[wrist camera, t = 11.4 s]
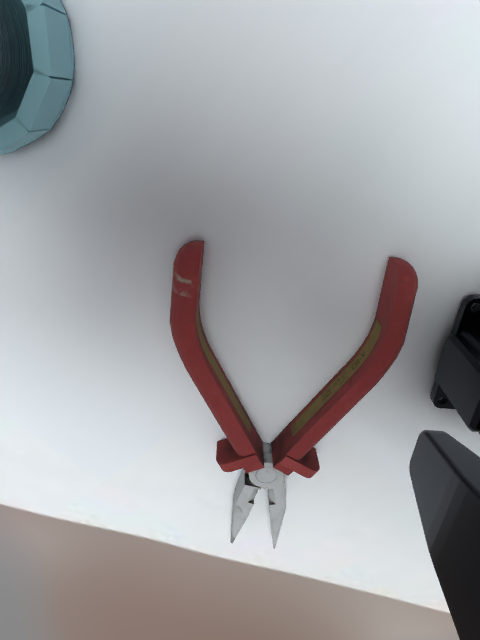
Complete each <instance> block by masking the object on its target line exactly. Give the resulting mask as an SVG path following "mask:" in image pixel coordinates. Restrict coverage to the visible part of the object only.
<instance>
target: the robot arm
mask: <svg viewBox="0 0 480 640" xmlns="http://www.w3.org/2000/svg"><path fill="white" fill-rule="evenodd" d="M474 303H477V306H476V307H475V308H473V309H470V307H471V306H472V305H473V304H474ZM435 379H436V381H435V384H434V387H433V390H432V393H431V401H432V402H433V404H434V406H436V407H438V408H445V409H456V410H457V412H458V413H459V415H460V416H461V418H462V419H463V421H464V422H465V424H466V425H467V427H468V428H469V429H470V430H471V431H472V432H478V433H479V434H480V295H470V296H468V297H466V298H465V299H464V300H463V302H462V304H461V307H460V310H459V313H458V316H457V319H456V322H455V325H454V328H453V331H452V334H451V335H450V336H449V337H448V338H447V341H446V344H445V347H444V350H443V353H442V356H441V359H440V362H439V365H438V368H437V371H436V374H435ZM441 397H444V398H443V399H441V400H439V398H441ZM410 476H411V480H412V484H413V489H414V493H415V497H416V501H417V505H418V509H419V513H420V518H421V522H422V526H423V530H424V534H425V538H426V542H427V546H428V549H429V553H430V556H431V559H432V562H433V565H434V568H435V571H436V574H437V577H438V579H439V582H440V585H441V588H442V591H443V593H444V596H445V599H446V602H447V605H448V608H449V610H450V613H451V616H452V619H453V622H454V625H455V627H456V630H457V633H458V635H459V639H460V640H480V457H479V456H477V455H476V454H475V453H473V452H472V451H470V450H469V449H468V448H466V447H465V446H464V445H462V444H461V443H460V442H458V441H457V440H456V439H454V438H453V437H451V436H450V435H449V434H447V433H446V432H443V431H432V430H424V431H422V432H421V433H420V435H419V437H418V440H417V443H416V446H415V449H414V451H413V454H412V457H411V460H410Z"/></svg>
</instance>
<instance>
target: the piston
mask: <svg viewBox="0 0 480 640" xmlns="http://www.w3.org/2000/svg"><path fill="white" fill-rule="evenodd" d="M33 72H34V68H33V60H32V52H31V44H30V36H29V28H28V20H27V12H26V8H25V6H24V5H23V3H22V1H21V0H0V117H4V116H7V115H9V114H11V113H13V112H14V111H16V110H18V109H19V107H20V105H21V102H22V100H23V97H24V95H25V92H26V90H27V87H28V85H29V82H30V80H31V77H32V74H33Z"/></svg>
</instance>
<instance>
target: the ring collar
mask: <svg viewBox="0 0 480 640" xmlns="http://www.w3.org/2000/svg"><path fill="white" fill-rule="evenodd" d="M21 1H22V3H23V5H24V6H25V8H26V12H27V20H28V28H29V36H30V44H31V52H32V60H33V68H34V72H33V74H32V77H31V80H30V82H29V85H28V87H27V90H26V92H25V95H24V97H23V100H22V102H21V105H20V107H19V109H18V110H16V111H14V112H13V113H11V114H9V115H7V116H4V117H0V155H2V154H7V153H12V152H14V151H15V150H17V149H19V148H20V147H22V146H25V145H27V144H29V143H31V142H33V141H35V140H37V139H38V138H40V137H41V136H42V135H44V134H45V133H46V132H48V131H49V130H51V129H50V128H52V127H53V125H54V124H55V122H56V121H57V120H58V118H59V117H60V115H61V113H62V112H63V110H64V108H65V106H66V103H67V101H68V98H69V95H70V92H71V87H72V83H73V75H74V47H73V40H72V33H71V29H70V25H69V21H68V18H67V15H66V12H65V9H64V7H63V4H62V1H61V0H21Z"/></svg>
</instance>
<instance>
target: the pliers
mask: <svg viewBox="0 0 480 640" xmlns="http://www.w3.org/2000/svg"><path fill="white" fill-rule="evenodd" d="M203 250H204V241H191V242H189V243H187V244H185V245H184V246H183V247H182V248H181V249H180V250H179V251H178V253H177V255H176V258H175V261H174V268H173V283H172V296H171V310H170V325H171V331H172V336H173V339H174V342H175V345H176V348H177V350H178V353H179V355H180V358H181V360H182V362H183V364H184V366H185V368H186V370H187V372H188V373H189V375H190V377H191V378H192V380H193V382H194V383H195V385H196V387H197V388H198V390H199V392H200V393H201V395H202V397H203V398H204V400H205V402H206V403H207V405H208V407H209V408H210V410H211V412H212V413H213V415H214V417H215V418H216V420H217V422H218V423H219V425H220V427H221V428H222V430H223V432H224V433H225V435H226V437H227V438H226V439H223V440H220V441H218V442H217V454H216V460H217V462H218V464H219V465H220V467H221V469H222V470H223V471H225V472H232V471H235V470H238V469H242V468H243V469H242V472H241V475H240V477H239V480H238V483H237V486H236V490H235V494H234V503H233V516H232V529H231V543H233V541H234V540H235V538H236V536H237V534H238V533H239V531H240V529H241V527H242V526H243V524H244V522H245V521H246V519H247V517H248V515H249V513H250V511H251V509H252V507H253V504H254V497H255V495H256V493H257V491H258V489H261V488H268V493H269V507H270V517H271V528H272V538H273V548H275V546H276V542H277V539H278V535H279V531H280V527H281V524H282V520H283V516H284V513H285V509H286V500H285V485H284V474H286V475H290V474H291V473H292V472H293V471H294V472H296V473H298V474H300V475H302V476H304V477H306V478H311V477H312V476H313V475H314V474H315V473H316V472H317V471H318V470H319V468H320V467H319V462H318V457H317V453H316V449H315V448H314V447H313V446H314V445H315V444H316V443H317V442H318V441H319V440H320V439H322V438H323V437H324V436H325V435H326V434H327V433H328V432H329V431H330V430H331V429H332V428H333V427H334V426H335V425H336V424H337V423H338V422H339V421H340V420H341V419H342V418H343V417H344V416H345V415H346V414H347V413H348V412H349V411H350V410H351V409H352V408H353V407H354V406H355V405H356V404H357V403H358V402H359V401H360V400H361V399H362V398H363V397H364V396H365V395H366V394H367V393H368V392H369V391H370V390H371V389H372V388H373V387H374V386H375V385H376V384H377V383H378V381H379V380H380V379H381V378H382V377H383V376H384V374H385V373H386V372H387V370H388V369H389V368H390V366H391V365H392V364H393V362H394V361H395V359H396V358H397V356H398V354H399V352H400V350H401V348H402V346H403V344H404V341H405V337H406V333H407V329H408V324H409V320H410V316H411V312H412V308H413V304H414V300H415V296H416V292H417V288H418V279H417V274H416V272H415V270H414V268H413V267H412V266H411V265H410V264H409V263H408V262H406V261H404V260H402V259H400V258H393V257H390V258H389V260H388V264H387V268H386V273H385V277H384V281H383V285H382V290H381V294H380V299H379V303H378V308H377V312H376V317H375V320H374V322H373V325H372V328H371V330H370V332H369V334H368V336H367V338H366V339H365V341H364V343H363V344H362V346H361V347H360V348H359V350H358V351H357V352H356V354H355V355H354V356H353V357H352V358H351V360H350V361H349V362H348V363H347V364H346V365H345V366H344V367H343V368H342V369H341V370H340V371H339V372H338V373H337V374H336V375H335V376H334V377H333V378H332V379H331V380H330V382H329V383H328V384H327V385H326V386H325V387H324V388H323V389H322V390H321V391H320V392H319V393H318V394H317V395H316V396H315V397H314V398H313V399H312V400H311V401H310V403H309V404H308V405H307V406H306V407H305V408H304V409H303V410H302V411H301V412H300V413H299V414H298V415H297V416H296V417H295V418H294V419H293V420H292V421H291V422H290V423H289V425H288V426H287V427H286V428H285V429H284V430H283V431H282V432H281V433H280V434H279V435H278V436H277V437H276V438H275V439H274V440H273V441H272V442H271V444H269V443H263V442H262V440H261V438H260V437H259V435H258V433H257V431H256V429H255V427H254V426H253V424H252V422H251V420H250V418H249V416H248V415H247V413H246V411H245V409H244V407H243V406H242V404H241V402H240V400H239V398H238V397H237V395H236V393H235V391H234V389H233V388H232V386H231V384H230V382H229V380H228V379H227V377H226V375H225V373H224V371H223V370H222V368H221V366H220V364H219V362H218V361H217V359H216V357H215V355H214V353H213V351H212V350H211V348H210V346H209V344H208V341H207V339H206V336H205V334H204V331H203V327H202V324H201V319H200V311H199V298H200V287H201V275H202V264H203Z"/></svg>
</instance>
